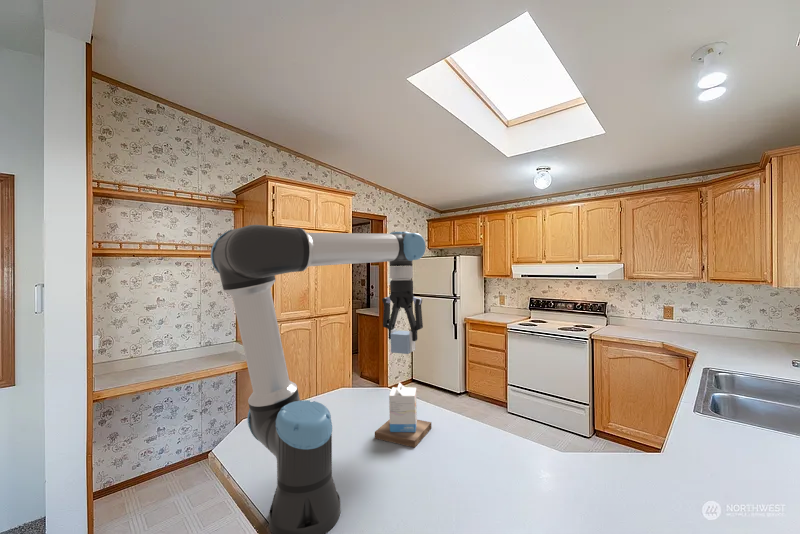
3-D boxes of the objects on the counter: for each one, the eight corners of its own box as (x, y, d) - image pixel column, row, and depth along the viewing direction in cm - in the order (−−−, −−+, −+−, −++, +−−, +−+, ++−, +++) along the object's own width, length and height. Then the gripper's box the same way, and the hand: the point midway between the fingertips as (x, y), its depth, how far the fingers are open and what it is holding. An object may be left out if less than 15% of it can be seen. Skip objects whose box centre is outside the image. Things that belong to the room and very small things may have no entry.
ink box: (415, 433, 111) (415, 390, 111) (389, 432, 112) (388, 390, 112) (417, 421, 119) (416, 381, 120) (392, 420, 120) (392, 381, 120)
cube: (407, 354, 111) (407, 335, 111) (391, 352, 114) (390, 333, 114) (415, 349, 116) (414, 331, 116) (399, 348, 119) (398, 330, 119)
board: (414, 447, 106) (414, 440, 106) (374, 438, 112) (374, 431, 112) (431, 428, 119) (431, 422, 119) (394, 420, 125) (394, 415, 125)
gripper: (432, 278, 114) (434, 350, 114) (381, 278, 122) (383, 345, 122) (423, 279, 107) (425, 355, 107) (370, 280, 116) (372, 350, 116)
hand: (403, 349), depth 115 cm, fingers closed on cube, 6 cm apart
